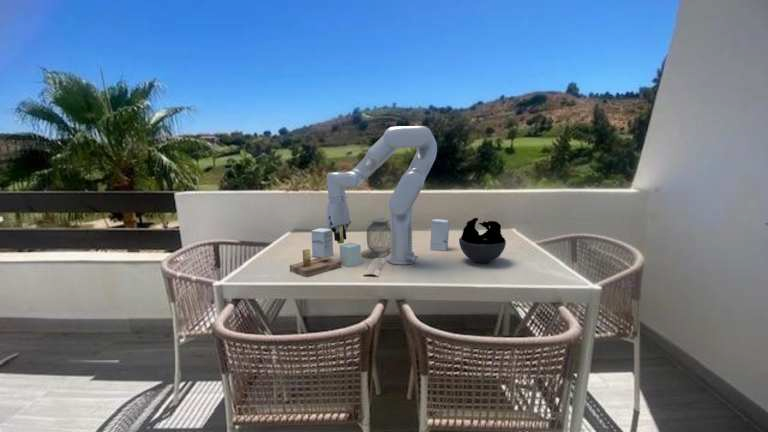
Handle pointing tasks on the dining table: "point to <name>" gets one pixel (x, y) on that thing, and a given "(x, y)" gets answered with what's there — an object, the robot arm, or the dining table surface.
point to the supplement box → (322, 242)
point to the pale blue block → (350, 254)
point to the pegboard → (314, 265)
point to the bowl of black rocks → (482, 241)
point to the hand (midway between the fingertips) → (340, 239)
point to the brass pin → (341, 234)
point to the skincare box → (439, 234)
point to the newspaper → (375, 266)
